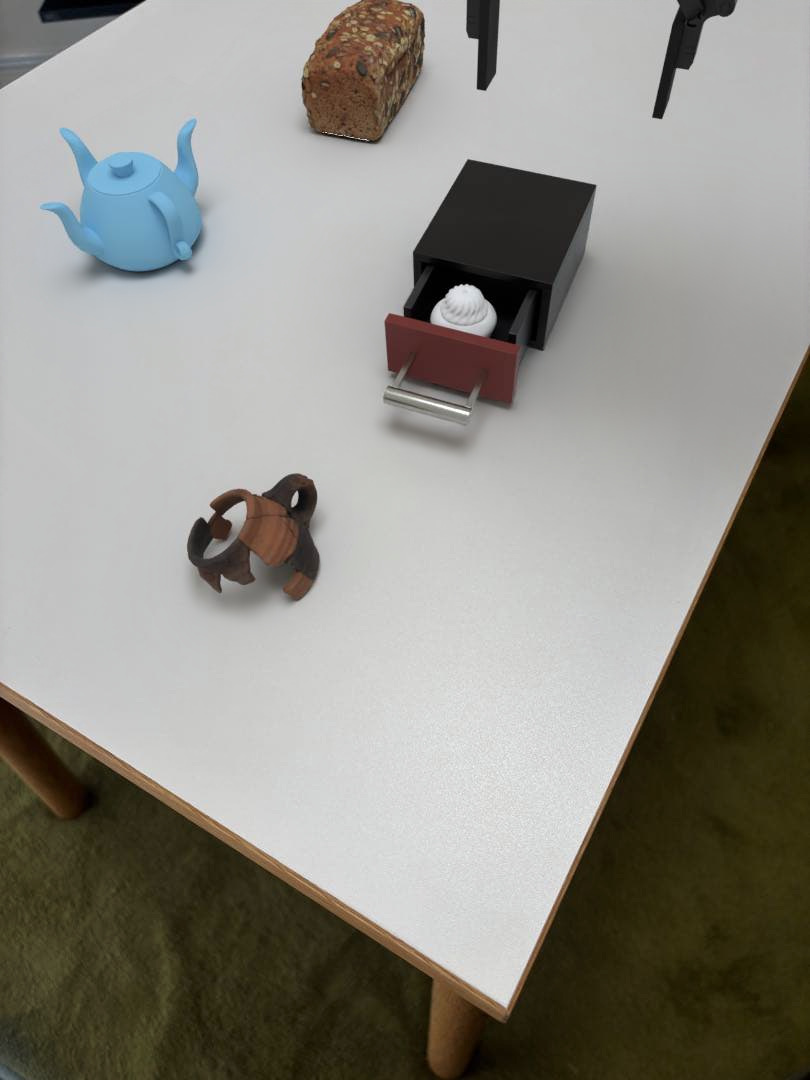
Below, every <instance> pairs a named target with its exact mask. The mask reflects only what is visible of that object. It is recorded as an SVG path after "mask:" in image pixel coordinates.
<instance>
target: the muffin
mask: <svg viewBox="0 0 810 1080" xmlns="http://www.w3.org/2000/svg"><path fill="white" fill-rule="evenodd" d="M430 320H431V324H435V325H439V326H443V327H447V328H451V329H455V330H459V331H463V332H467V333H471V334H475V335H479V336H483V337H487V338H489V337H490V336H491V333H492V332H493V330H494V328H495V326H496V322H497V316H496V312H495V310H494V308H493V306H492V305H491V304H490V303H489V302H488V301H487V300H485V299H484V297H483V295H482V293H481V291H480V290H479V289H477V288H475V287H474V286H469V285H468V284H466V285H462V284H461V285H460V286H455V287H454V289H450V290H449V293H448V294H446V298H444V299H442V300H441V301H439V302H438V303H437V304H436V306H435V307H434V309H433V311H432V313H431V318H430Z"/></svg>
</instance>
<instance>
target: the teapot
mask: <svg viewBox="0 0 810 1080" xmlns="http://www.w3.org/2000/svg"><path fill="white" fill-rule="evenodd" d="M197 122H198V121H197V119H196V118H191V119H190V120H188V121H187V122H186V123H184V125H183V126H182V127H181V128H180V130H179V132H178V134H177V139H176V149H177V150H176V151H177V163H176V167H175V169H174V170H172V169H171V168H169V166H167V165H166V164H165V163H163V162H162V161H160V160H159V159H158V158H156V157H154V156H153V155H151V154H149V153H145V152H140V151H119V152H115V153H113V154H111V155H109V156H107V157H105V158H103V159H101V160H100V161H97V158H95V157H94V155H93V154H92V152H91V151H90V150H89V149H88V147H87V146H86V144H85V143H84V142H83V140H82V139H81V138H80V136H79V135H78V134H77V133H75V131H73V130H71V129H69V128H67V127H60V128H59V130H58V131H59V134H60V135H61V137H62V138H63V140H65V142H66V143H67V144H68V146H69V148H70V149H71V151H72V154H73V156H74V159H75V162H76V166H77V170H78V173H79V178H80V180H81V183H82V186H83V189H82V194H81V199H80V204H79V206H80V207H79V219H78V217H77V216H76V215H75V213H74V211H73V210H72V209H71V207H70V206H68V205H67V204H65V203H63V202H61V201H52V202H46V203H43V204H42V205H40V206H39V208H40V209H41V210H44V211H48V212H51V213H54V214H55V215H56V216H57V217H58V218H59V219H60V221H61V222H62V226H63V227H64V230H65V232H66V234H67V237H68V239H69V240H70V241H71V242H72V244H73V245H74V246H75V247H77V249H78V250H80V251H82V252H84V253H86V254H89V255H94V257H96V258H97V259H99V260H100V261H102V262H103V263H105V264H107V265H109V266H112V267H115V268H117V269H120V270H123V271H128V272H149V271H154V270H155V271H156V270H158V269H162V268H164V267H167V266H170V265H172V264H174V263H175V262H177V261H178V260H181V261H186V260H187V261H188V260H189V259H191V258H192V256H193V250H192V247H193V245H194V244H195V242H196V240H197V239H198V237H199V235H200V232H201V229H202V224H203V216H202V212H201V210H200V207H199V204H198V202H197V200H196V197H195V195H196V193H197V191H198V187H199V179H200V178H199V177H200V176H199V171H198V167H197V163H196V161H195V157H194V153H193V148H192V135H193V132H194V130H195V127H196V124H197Z"/></svg>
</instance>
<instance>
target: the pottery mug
mask: <svg viewBox="0 0 810 1080" xmlns="http://www.w3.org/2000/svg"><path fill="white" fill-rule="evenodd" d="M296 493H297V502H296V504H295V505H294V506H292V503H293V502H292V501H293V497H294V496H295V494H296ZM243 502H245V506H246V515H245V520H244V522H243V525H242V527H241V530H240V531H239V533H238V534H237V536H236V538H235V539H234V540H233V541H232V542H231V543H230V545H229V546H227V547H226V548H225V549H224V550H223V551H221V552H220V553H218V554H217V555H214V556H213V557H209V558H204V556H205V553H206V550H207V549H208V547H209V546H210V544H211V543H212V541H213V540H214V539H215V540H222V541H225V540H226V539H227V538H228V537H229V535H230V534H231V531H232V529H233V523H232V521H231V520H229V519H226V518H225V517H223V516H224V515H225V514H226V513H227V512H228V511H229V510H231V509H232V508H233V507H234V506H237V505H238V504H240V503H243ZM317 503H318V490H317V488H316V485H315V483H314V480H313V479H311V478H309V477H308V476H307V475H305V474H301V473H298V472H295V473H290V474H287V475H285V476H284V477H282V478H281V479H280V480H278V482H277V483H276V484H275V485H274V486H273V487H272V488H271V489H268V490H267V491H264V492H262V493H261V495H260V494H259V495H258V493H252V492H251V491H249V490H247V489H245V488H233V489H230V490H227V491H226V492H223V493H221V494H220V495H219V496H217V497H215V498H214V499H213V500H212V501H211V502H210V503H209V507H210V508H211V509H212V510H213V511H214V513H213V514H212V515H211V517H210V518H209V520H208V521H207V520H206V519H205V518H204V517H202V516H200V517H198V518H197V519H196V520H195V521H194V523H193V525H192V527H191V529H190V530H189V531H190V532H189V535H188V538H187V543H186V551H187V557H188V560H189V562H190V563H191V564H192V565H193V566H194V567H197V571H198V574H199V577H200V578H201V579H202V580H203V581H205V582H206V584H208V585H209V586H210V587H211V589H213V590H214V591H215V592H217V593H218V594H221V593H223V588H222V584H221V580H222V577H223V578H224V579H226V580H227V581H230V582H233V583H234V582H235V583H238V584H239V585H241V586H246V585H250V584H252V583H254V582H255V581H256V577H255V575H254V574H253V572H252V571H251V563H250V561H251V560H250V559H251V558H250V557H251V552H253V554H255V555H256V556H257V557H258V558H259V559H260V560H262V562H263V563H264V564H265V565H266V566H268V567H273V568H276V567H279V566H280V565H281V566H282V564H285V565H286V566H290V567H292V568H293V570H294V572H293V574H292V576H291V577H290V578H289V580H288V581H287V583H285V585H283V587H282V590H283V592H284V594H286V595H288V596H289V597H291V598H293V600H295V601H299V600H301V599H302V598H303V596H305V595H306V594H307V592H308V591H309V590H310V588H311V586H312V584H313V583H314V581H315V579H316V577H317V574H318V571H319V568H320V561H321V560H320V558H321V557H320V553H319V551H318V548H317V546H316V545H315V542H314V540H313V537H312V535H311V532H310V530H309V529H310V522H311V520H312V518H313V515H314V513H315V510H316V508H317Z"/></svg>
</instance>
